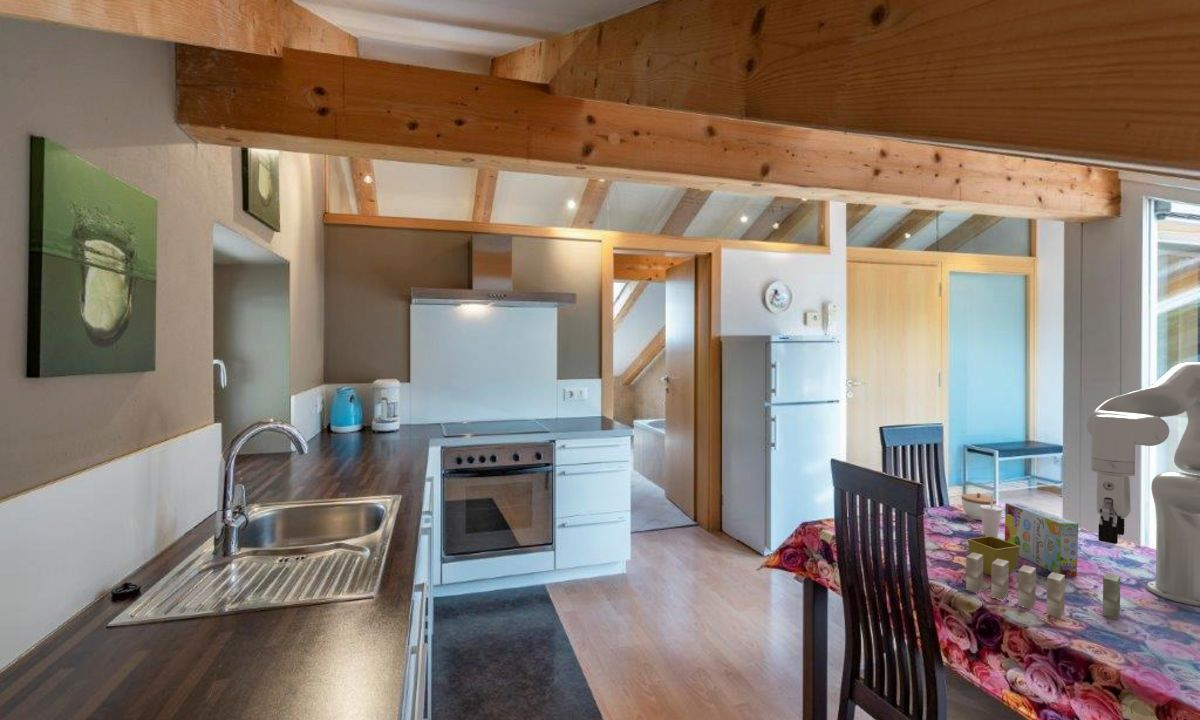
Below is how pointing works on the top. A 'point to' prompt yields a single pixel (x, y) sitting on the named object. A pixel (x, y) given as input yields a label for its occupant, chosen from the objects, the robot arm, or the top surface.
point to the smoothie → (991, 519)
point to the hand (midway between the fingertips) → (1111, 537)
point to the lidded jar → (975, 504)
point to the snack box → (1043, 538)
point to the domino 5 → (1111, 595)
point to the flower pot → (994, 551)
